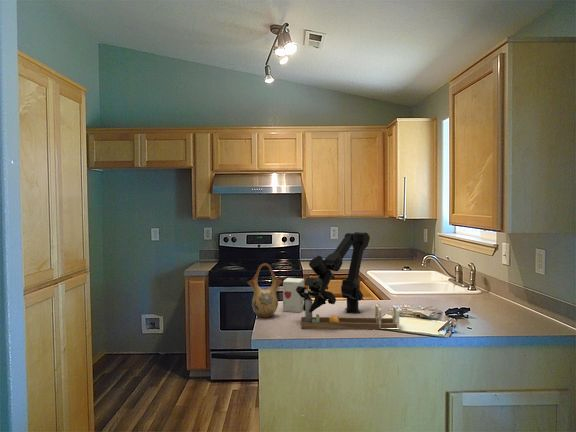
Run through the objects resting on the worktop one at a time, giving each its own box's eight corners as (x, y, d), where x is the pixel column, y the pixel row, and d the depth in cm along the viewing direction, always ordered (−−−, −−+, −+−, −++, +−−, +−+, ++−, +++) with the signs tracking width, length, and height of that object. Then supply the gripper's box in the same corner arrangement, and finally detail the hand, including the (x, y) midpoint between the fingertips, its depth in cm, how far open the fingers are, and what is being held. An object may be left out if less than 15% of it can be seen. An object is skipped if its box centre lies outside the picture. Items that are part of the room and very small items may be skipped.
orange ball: (328, 324, 168) (328, 314, 168) (338, 324, 168) (338, 314, 168) (329, 327, 164) (329, 317, 164) (339, 327, 164) (339, 317, 164)
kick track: (301, 322, 171) (301, 303, 170) (394, 323, 169) (394, 304, 169) (301, 328, 162) (301, 308, 162) (399, 329, 161) (399, 309, 161)
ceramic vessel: (247, 319, 175) (247, 265, 174) (247, 314, 184) (247, 262, 183) (283, 318, 176) (283, 264, 175) (281, 313, 185) (281, 261, 184)
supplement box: (282, 311, 188) (282, 281, 188) (286, 306, 197) (286, 277, 196) (300, 312, 186) (300, 281, 186) (304, 307, 195) (304, 278, 194)
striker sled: (305, 323, 169) (305, 297, 169) (318, 323, 169) (318, 298, 168) (305, 327, 164) (305, 301, 163) (319, 327, 163) (319, 301, 163)
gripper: (298, 268, 173) (281, 296, 166) (332, 273, 161) (315, 304, 153) (309, 282, 179) (293, 311, 172) (342, 288, 167) (327, 319, 159)
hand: (306, 311), depth 164 cm, fingers closed on striker sled, 3 cm apart
